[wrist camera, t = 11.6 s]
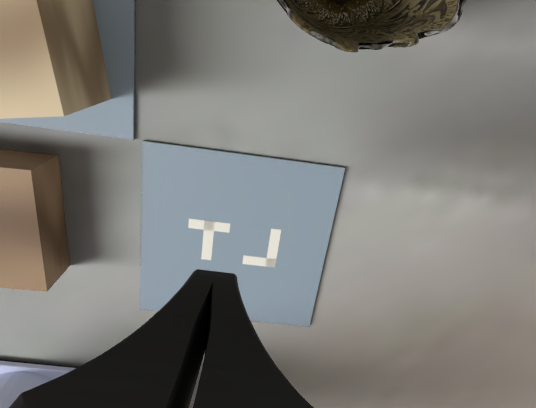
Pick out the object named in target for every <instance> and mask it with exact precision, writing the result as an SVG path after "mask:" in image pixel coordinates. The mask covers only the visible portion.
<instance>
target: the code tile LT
mask: <svg viewBox="0 0 536 408" xmlns="http://www.w3.org/2000/svg"><path fill="white" fill-rule="evenodd" d="M344 171H345V167H339V166H331V165H324V164H316V163H309V162H301V161H294V160H286V159H279V158H271V157H264V156H256V155H249V154H241V153H234V152H226V151H219V150H211V149H204V148H196V147H189V146H181V145H174V144H166V143H159V142H151V141H143V155H142V222H141V289H140V309H145V310H155V311H159V310H160V309H161V308H162V307H163V306H164V305H165V304H166V303H167V302H168V301H169V300H170V299H171V298H172V297H173V296H174V295H175V294H176V293H177V292H178V291H179V289H180V288H181V287H182V286H183V285H184V284H185V282H186V281H187V280H188V279H189V277H190V276H191V274H192V273H193V272H194V271H195V270H197V269H200V270H209V271H217V272H225V273H234V274H235V275H236V276H237V281H238V287H239V291H240V295H241V298H242V301H243V304H244V307H245V309H246V312H247V314H248V317H249V319H250V321H258V322H267V323H277V324H286V325H295V326H305V327H309V326H310V321H311V317H312V312H313V308H314V304H315V299H316V295H317V290H318V286H319V282H320V277H321V273H322V268H323V264H324V260H325V255H326V251H327V246H328V242H329V238H330V233H331V229H332V224H333V220H334V215H335V211H336V207H337V202H338V198H339V193H340V189H341V185H342V180H343V176H344Z"/></svg>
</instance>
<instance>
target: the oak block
mask: <svg viewBox="0 0 536 408" xmlns="http://www.w3.org/2000/svg"><path fill="white" fill-rule="evenodd" d="M110 99H111V95H110V89H109V84H108V79H107V73H106V68H105V63H104V57H103V52H102V47H101V41H100V36H99V31H98V25H97V20H96V15H95V9H94V4H93V0H0V119H5V118H32V117H59V116H66V115H69V114H72V113H75V112H77V111H80V110H83V109H86V108H88V107H91V106H94V105H97V104H99V103H102V102H105V101H108V100H110Z"/></svg>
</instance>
